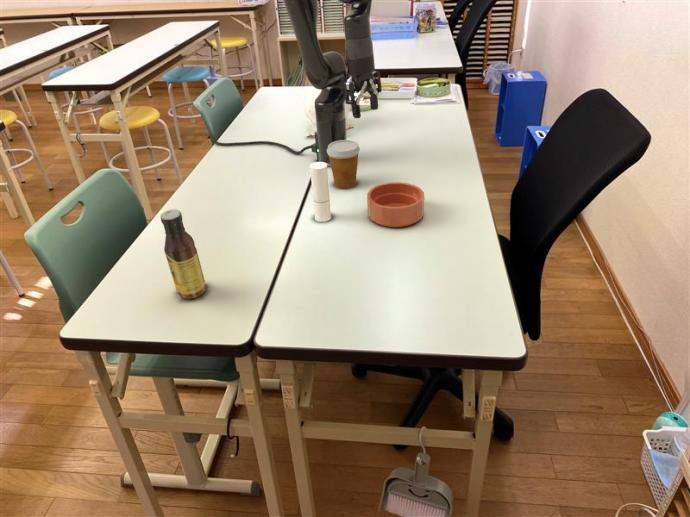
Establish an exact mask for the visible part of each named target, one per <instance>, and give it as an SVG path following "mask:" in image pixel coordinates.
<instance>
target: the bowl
mask: <svg viewBox="0 0 690 517" xmlns="http://www.w3.org/2000/svg"><path fill="white" fill-rule="evenodd" d="M366 204H367V209H366V210H367V217H368V218H369V219H370V220H371V221H372V222H374V223H376V224H378V225H380V226H384V227H389V228H402V227H403V228H404V227H408V226H410V225H413V224H414V223H417V222H418V221H420V220H421V219H422V218H423V216H424V213H425V192H424V190H422V189H421V187H419V186H417V185H415V184H412V183H409V182H401V181H392V182H384V183H381V184H377V185H375V186H374V187H371V188H370V189H369V190H368V192H367V194H366Z"/></svg>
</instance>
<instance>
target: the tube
mask: <svg viewBox="0 0 690 517" xmlns="http://www.w3.org/2000/svg"><path fill="white" fill-rule="evenodd" d="M309 169H310V171H309V172H310V180H311V191H312V192H311V193H312V200H313V201H312V203H313V211H314V219H315V221H317V222H319V223H324V222H328V221H330V220H331V218H332V211H331V200H330V199H331V198H330V197H331V196H330V184H329V172H328V166H327V164H326V163H324V162H319V161H315V162H312V163H311V164H309Z"/></svg>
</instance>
